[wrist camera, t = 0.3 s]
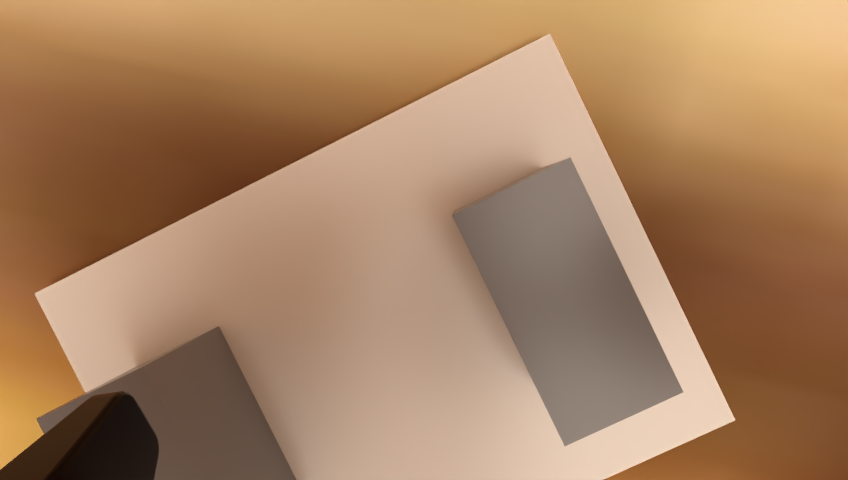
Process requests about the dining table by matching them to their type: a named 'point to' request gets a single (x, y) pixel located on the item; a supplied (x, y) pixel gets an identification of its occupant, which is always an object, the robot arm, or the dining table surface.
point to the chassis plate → (405, 306)
